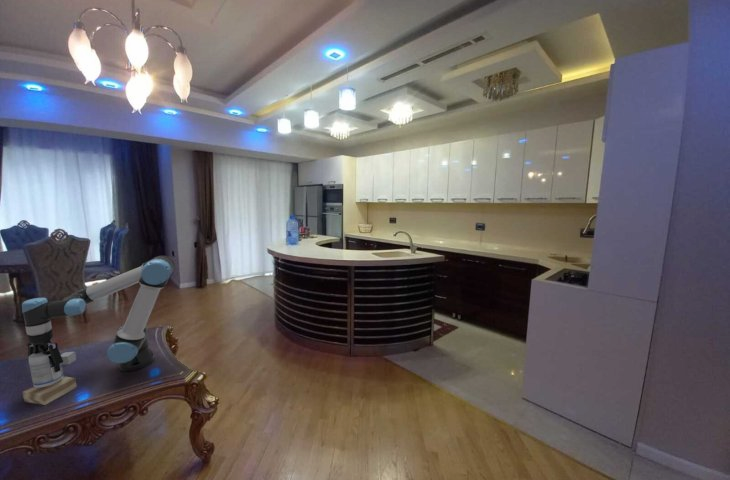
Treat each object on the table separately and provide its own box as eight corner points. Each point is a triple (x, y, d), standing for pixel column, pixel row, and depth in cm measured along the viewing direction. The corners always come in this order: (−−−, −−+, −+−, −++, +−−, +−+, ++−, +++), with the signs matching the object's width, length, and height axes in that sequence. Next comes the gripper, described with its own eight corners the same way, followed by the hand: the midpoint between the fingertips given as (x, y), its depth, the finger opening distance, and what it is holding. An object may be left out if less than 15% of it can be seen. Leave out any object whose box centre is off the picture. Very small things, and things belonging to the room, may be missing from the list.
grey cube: (76, 359, 159) (75, 351, 159) (68, 364, 155) (67, 356, 154) (66, 360, 159) (64, 352, 158) (58, 365, 154) (56, 357, 153)
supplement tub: (59, 383, 129) (54, 354, 126) (29, 391, 124) (23, 361, 121) (67, 373, 137) (62, 345, 134) (38, 379, 132) (33, 351, 129)
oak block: (76, 387, 136) (75, 377, 135) (45, 404, 124) (43, 394, 123) (57, 384, 138) (55, 375, 137) (24, 401, 126) (22, 391, 125)
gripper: (69, 330, 128) (77, 374, 132) (32, 326, 132) (40, 369, 135) (48, 338, 121) (57, 384, 124) (9, 333, 125) (19, 379, 128)
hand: (48, 376), depth 130 cm, fingers closed on supplement tub, 10 cm apart
